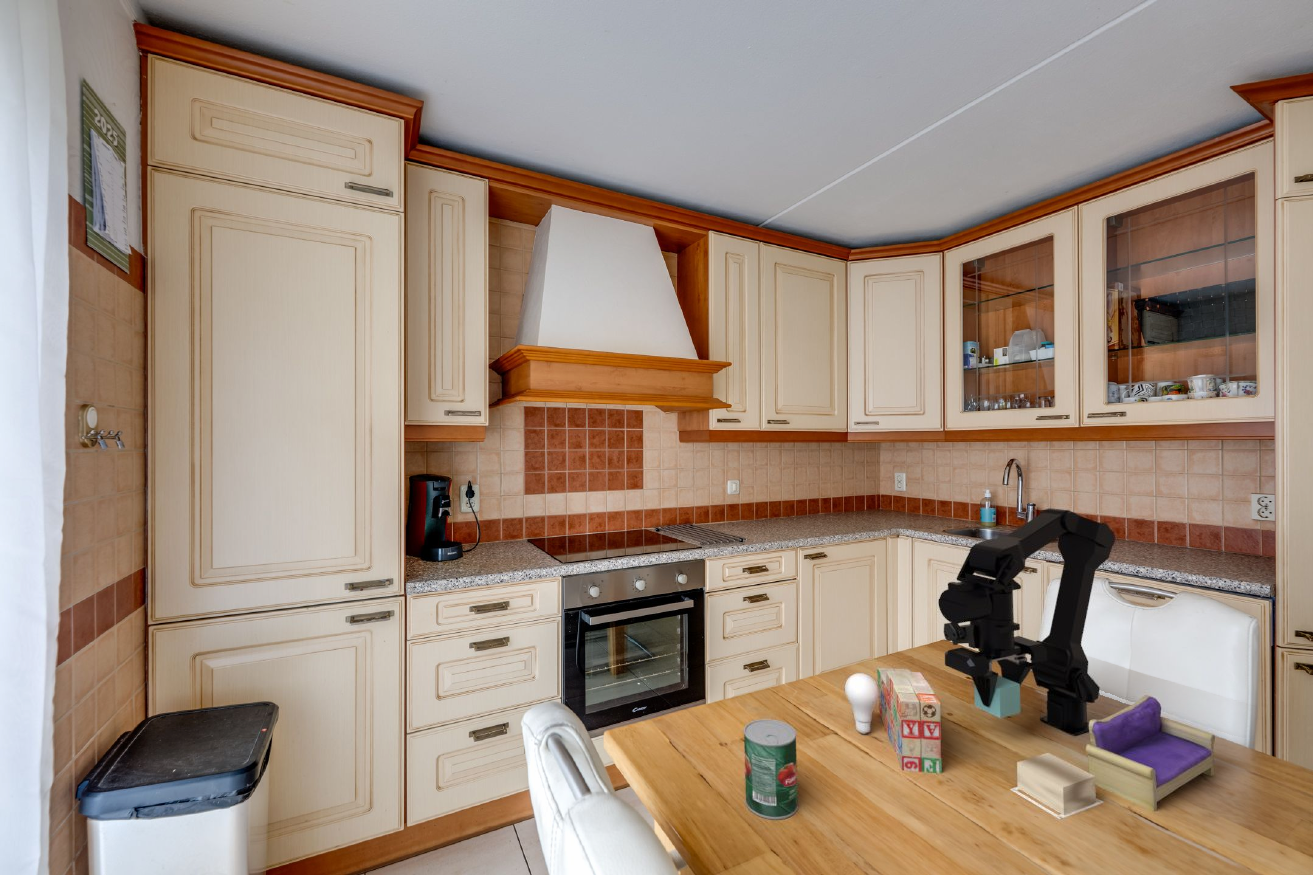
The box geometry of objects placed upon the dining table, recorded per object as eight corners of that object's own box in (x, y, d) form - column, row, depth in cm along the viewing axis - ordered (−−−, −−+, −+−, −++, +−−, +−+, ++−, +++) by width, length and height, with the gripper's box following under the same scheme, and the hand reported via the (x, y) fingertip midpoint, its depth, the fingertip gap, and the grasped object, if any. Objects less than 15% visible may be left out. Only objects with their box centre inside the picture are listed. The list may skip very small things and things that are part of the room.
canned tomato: (742, 787, 91) (740, 718, 91) (792, 787, 91) (790, 718, 91) (749, 820, 83) (747, 744, 83) (803, 820, 83) (801, 744, 83)
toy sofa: (1153, 818, 82) (1150, 747, 82) (1085, 786, 90) (1083, 721, 90) (1218, 776, 91) (1216, 712, 91) (1152, 751, 99) (1150, 692, 99)
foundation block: (1048, 777, 91) (1047, 752, 91) (1095, 803, 84) (1095, 775, 84) (1017, 788, 88) (1016, 762, 88) (1063, 815, 82) (1063, 787, 82)
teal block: (994, 700, 105) (993, 673, 105) (1020, 712, 100) (1019, 684, 100) (974, 705, 103) (974, 678, 103) (1000, 718, 98) (999, 689, 98)
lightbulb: (845, 738, 105) (843, 678, 105) (847, 722, 111) (845, 666, 111) (880, 743, 103) (878, 683, 103) (880, 727, 109) (879, 670, 109)
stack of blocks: (878, 713, 115) (876, 652, 115) (911, 715, 114) (909, 653, 114) (902, 774, 94) (899, 699, 94) (943, 777, 93) (940, 701, 93)
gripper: (991, 598, 113) (993, 677, 112) (919, 610, 106) (921, 694, 106) (1047, 613, 102) (1050, 700, 102) (971, 627, 96) (974, 721, 95)
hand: (997, 703), depth 102 cm, fingers closed on teal block, 5 cm apart
